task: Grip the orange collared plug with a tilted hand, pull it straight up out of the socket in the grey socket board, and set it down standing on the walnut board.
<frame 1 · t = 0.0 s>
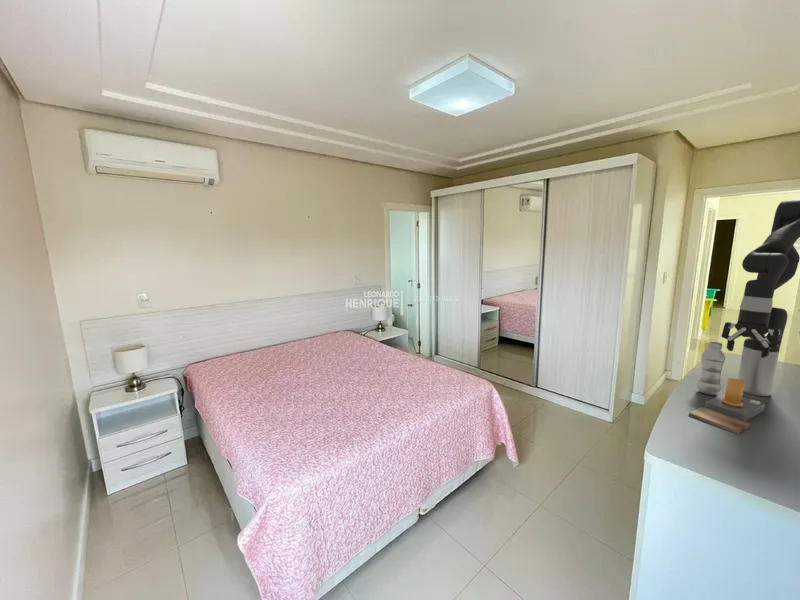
hand: (746, 353, 118), 17 cm above the table, tool pointing down, fingers open, 8 cm apart
plug: (731, 411, 112), resting in grey socket board
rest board: (718, 420, 106), on the table
grey socket board: (733, 409, 113), on the table
plastic bottle: (707, 394, 125), on the table
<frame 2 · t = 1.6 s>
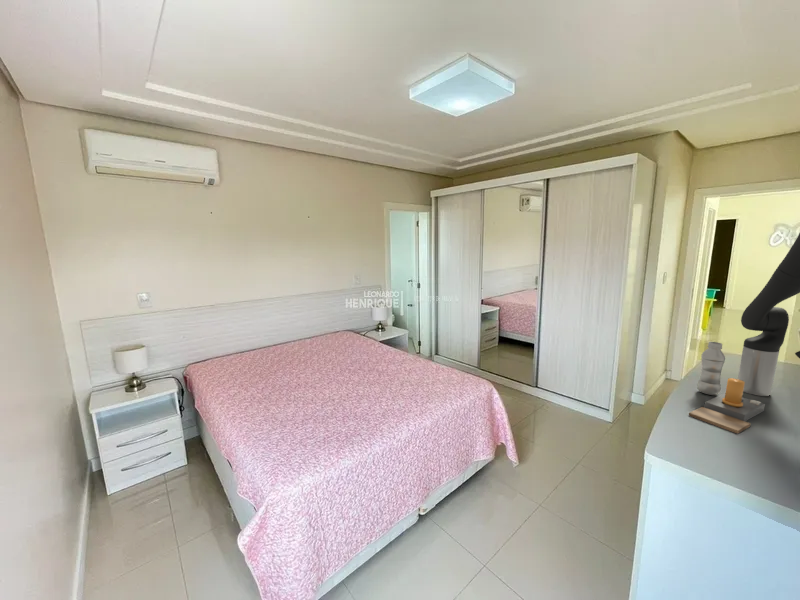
nothing on the table moved.
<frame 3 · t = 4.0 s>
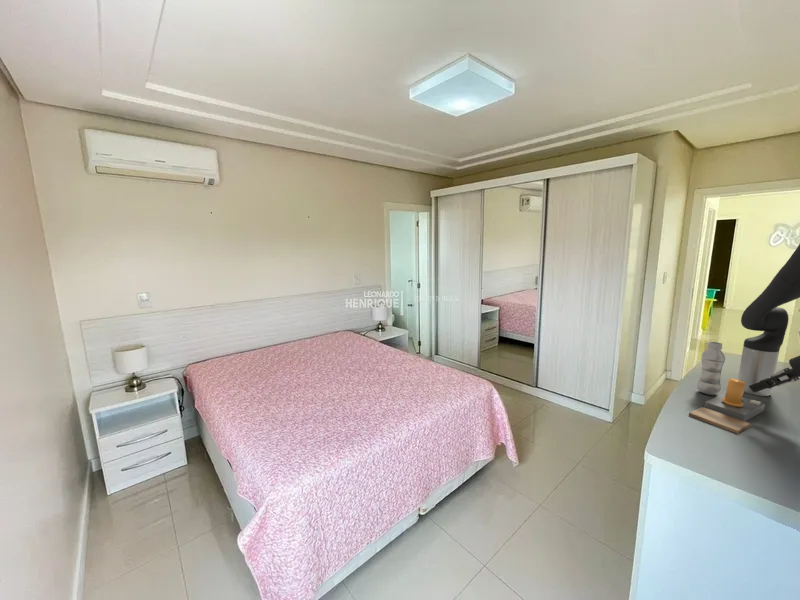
hand: (756, 386, 106), 11 cm above the table, tool tilted 45°, fingers open, 8 cm apart
nothing on the table moved.
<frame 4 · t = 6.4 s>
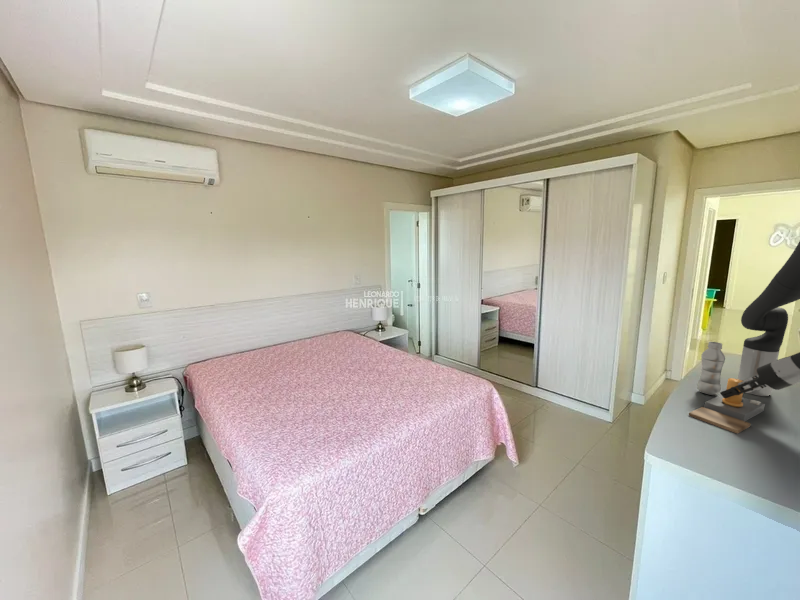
hand: (725, 394, 113), 5 cm above the table, tool tilted 45°, fingers closed on plug, 4 cm apart
plug: (730, 411, 112), resting in grey socket board, touching gripper
everything else where it was.
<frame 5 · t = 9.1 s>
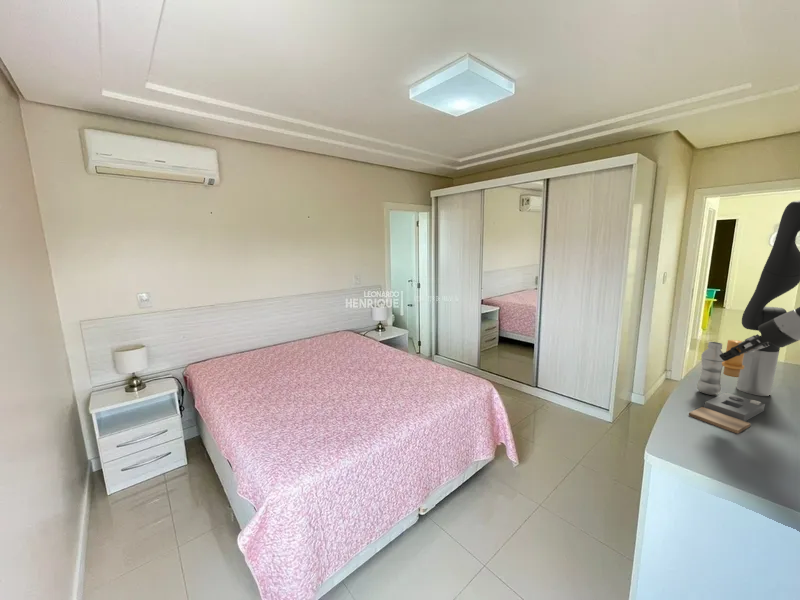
hand: (725, 357, 105), 20 cm above the table, tool tilted 45°, fingers closed on plug, 4 cm apart
plug: (731, 375, 104), point 15 cm above the table, touching gripper
everything else where it was.
when the fingers open (8 cm above the table, at t = 12.1 s): plug drops 1 cm, resting on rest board.
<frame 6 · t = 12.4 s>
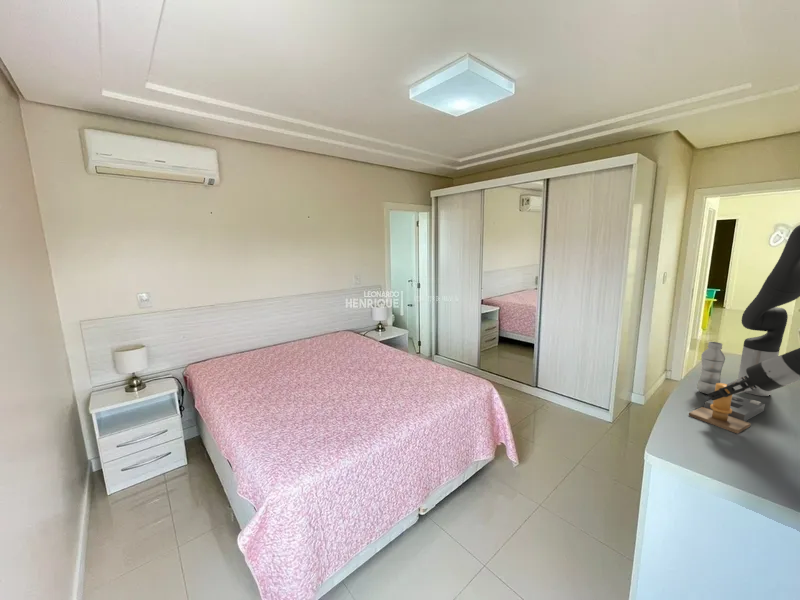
hand: (715, 395, 106), 8 cm above the table, tool tilted 45°, fingers open, 6 cm apart
plug: (719, 417, 106), point 1 cm above the table, touching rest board
everything else where it was.
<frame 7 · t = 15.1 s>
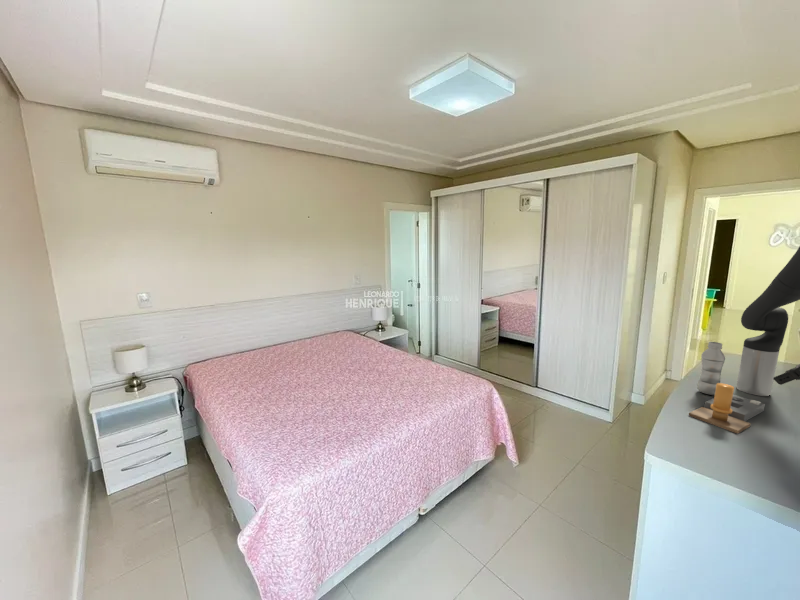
hand: (782, 378, 93), 19 cm above the table, tool tilted 45°, fingers open, 8 cm apart
nothing on the table moved.
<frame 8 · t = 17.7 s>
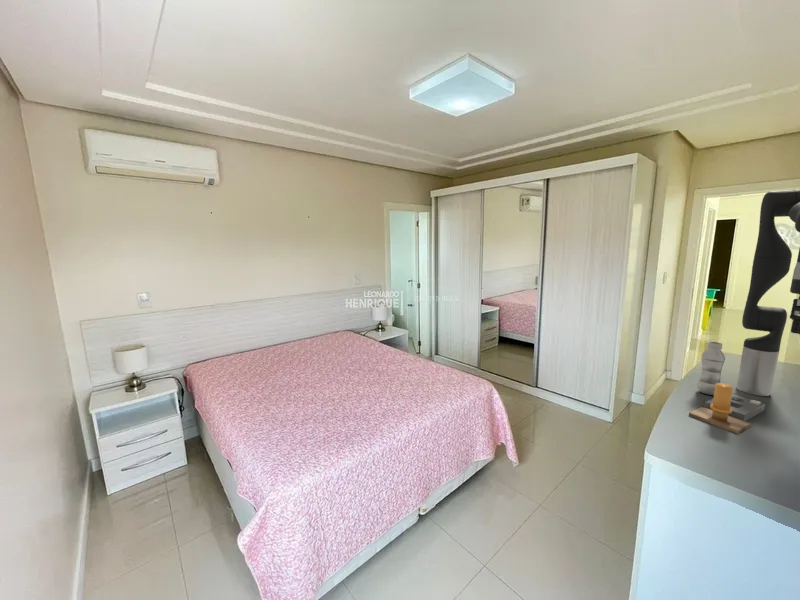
nothing on the table moved.
at the end: plug inside the target area on the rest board (0.1 cm from its centre), point 1.0 cm above the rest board's base; plug tilted 1°; the gripper is holding nothing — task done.
